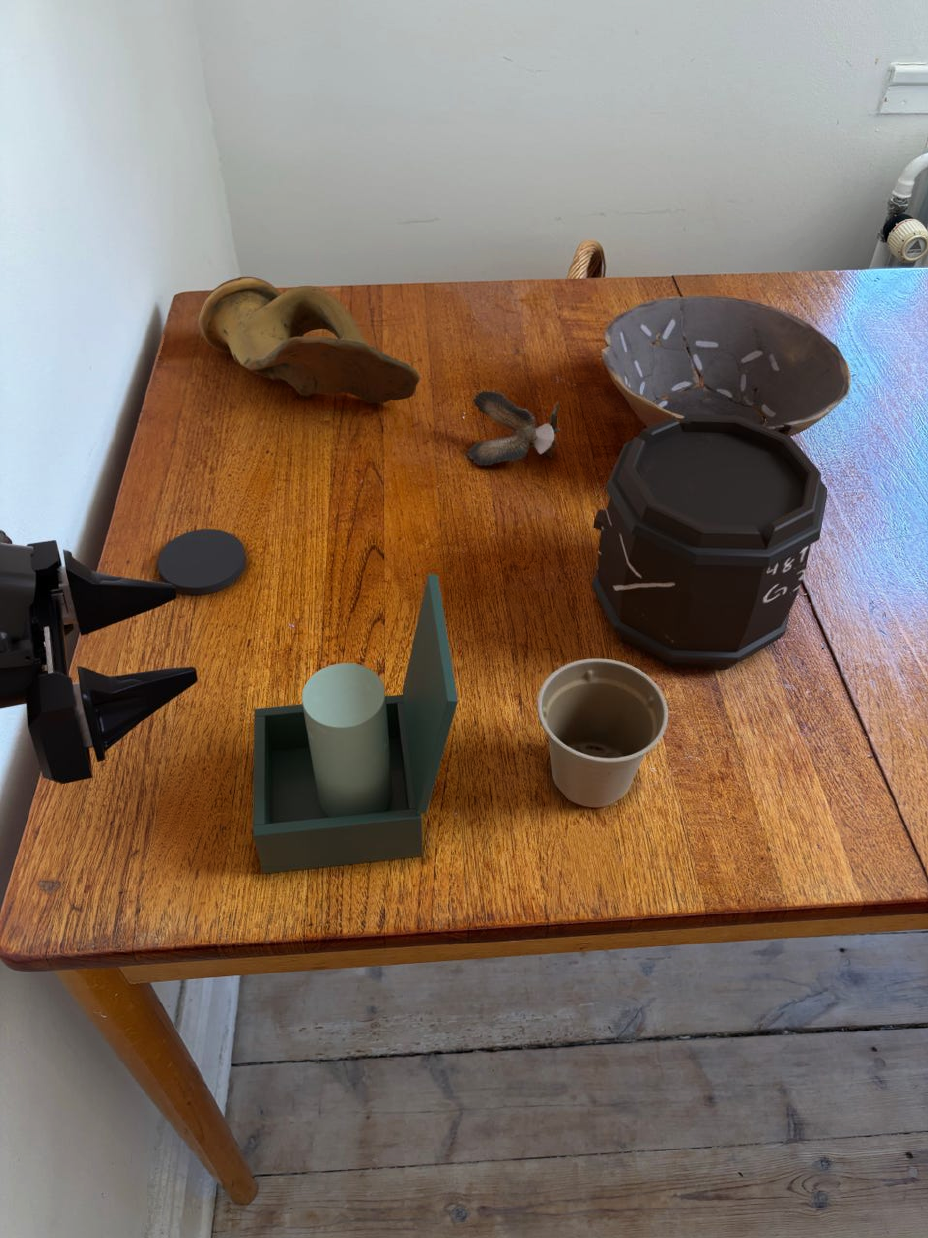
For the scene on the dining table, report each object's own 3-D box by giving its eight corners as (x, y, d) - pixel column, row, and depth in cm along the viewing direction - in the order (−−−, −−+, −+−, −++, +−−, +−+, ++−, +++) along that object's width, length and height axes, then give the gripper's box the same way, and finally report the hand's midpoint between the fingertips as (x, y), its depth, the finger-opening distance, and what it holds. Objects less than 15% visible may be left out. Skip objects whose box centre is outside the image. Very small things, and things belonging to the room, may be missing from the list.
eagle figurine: (550, 415, 110) (469, 402, 108) (568, 390, 103) (481, 376, 101) (544, 482, 108) (462, 470, 107) (563, 461, 101) (475, 448, 100)
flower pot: (550, 839, 75) (559, 772, 69) (516, 739, 81) (522, 669, 75) (668, 814, 77) (688, 747, 70) (626, 718, 83) (641, 648, 77)
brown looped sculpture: (235, 412, 99) (168, 278, 109) (282, 485, 110) (217, 357, 121) (401, 323, 100) (318, 199, 110) (431, 405, 111) (353, 285, 122)
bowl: (861, 497, 102) (893, 415, 95) (626, 520, 100) (640, 437, 92) (772, 361, 119) (793, 283, 112) (568, 377, 117) (577, 298, 109)
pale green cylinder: (329, 835, 74) (313, 737, 65) (310, 775, 78) (292, 675, 69) (402, 812, 76) (395, 713, 67) (379, 754, 79) (371, 653, 70)
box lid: (447, 701, 61) (458, 701, 61) (427, 573, 68) (437, 574, 69) (416, 814, 70) (426, 814, 70) (402, 690, 77) (411, 690, 77)
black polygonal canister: (611, 520, 100) (633, 384, 88) (795, 564, 96) (843, 428, 84) (560, 647, 88) (577, 510, 77) (768, 704, 84) (818, 568, 73)
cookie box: (263, 874, 73) (252, 835, 69) (263, 749, 80) (254, 708, 76) (423, 856, 74) (421, 817, 70) (408, 735, 81) (406, 693, 78)
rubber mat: (167, 604, 91) (164, 596, 90) (153, 547, 96) (151, 539, 96) (254, 583, 93) (252, 575, 92) (236, 528, 98) (235, 520, 98)
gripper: (-109, 677, 53) (195, 623, 57) (-94, 492, 66) (152, 460, 71) (-53, 816, 60) (214, 757, 64) (-49, 623, 73) (171, 586, 78)
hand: (185, 630), depth 69 cm, fingers open, 9 cm apart
